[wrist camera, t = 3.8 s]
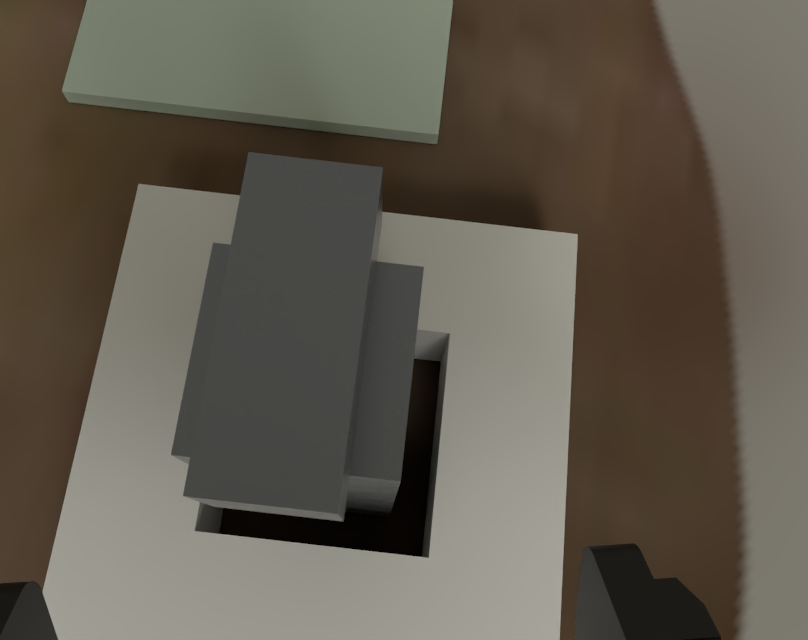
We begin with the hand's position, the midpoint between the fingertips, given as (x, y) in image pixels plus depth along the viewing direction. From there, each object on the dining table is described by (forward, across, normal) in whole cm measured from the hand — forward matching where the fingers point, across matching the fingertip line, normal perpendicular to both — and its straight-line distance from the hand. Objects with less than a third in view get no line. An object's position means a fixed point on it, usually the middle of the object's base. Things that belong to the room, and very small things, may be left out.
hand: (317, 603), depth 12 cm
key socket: (+10, 0, +4) cm, 11 cm away
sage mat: (+21, +1, -7) cm, 23 cm away
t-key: (+10, 0, +4) cm, 11 cm away
